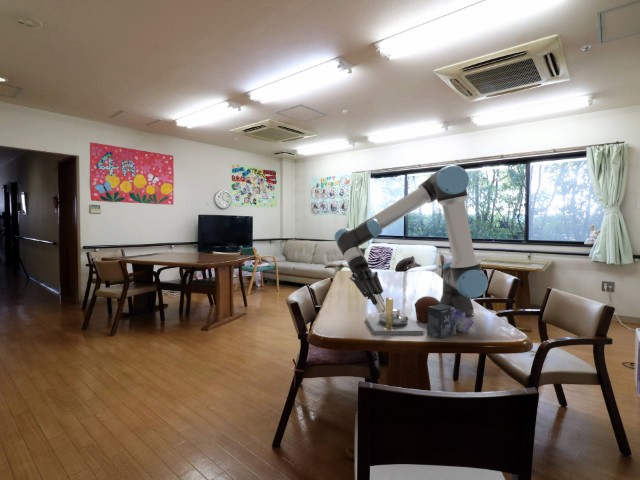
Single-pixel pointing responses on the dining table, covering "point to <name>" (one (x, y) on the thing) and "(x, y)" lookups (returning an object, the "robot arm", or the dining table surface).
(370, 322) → the stand
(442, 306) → the box
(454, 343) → the dining table surface
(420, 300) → the muffin
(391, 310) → the crank handle
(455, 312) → the flower
